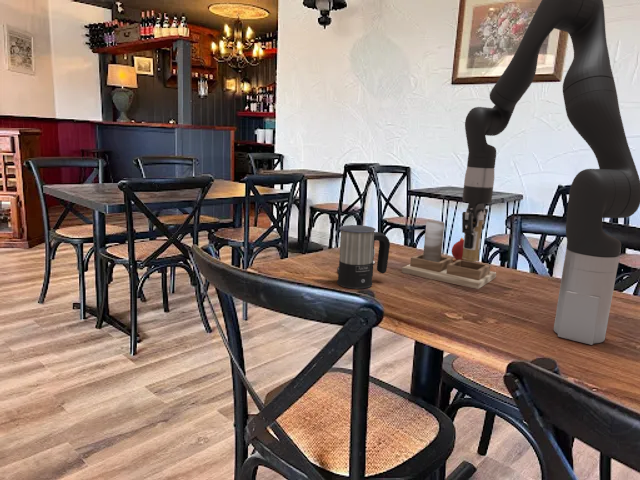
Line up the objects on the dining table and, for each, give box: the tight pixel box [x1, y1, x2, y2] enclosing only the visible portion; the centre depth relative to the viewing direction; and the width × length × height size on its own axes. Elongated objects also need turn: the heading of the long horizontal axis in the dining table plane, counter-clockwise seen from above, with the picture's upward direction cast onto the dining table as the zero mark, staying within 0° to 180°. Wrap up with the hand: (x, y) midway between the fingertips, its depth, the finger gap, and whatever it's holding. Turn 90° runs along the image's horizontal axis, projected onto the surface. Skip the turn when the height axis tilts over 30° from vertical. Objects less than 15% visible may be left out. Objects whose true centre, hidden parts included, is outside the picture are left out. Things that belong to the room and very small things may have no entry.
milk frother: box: [336, 224, 391, 290], centre depth 128 cm, size 14×16×15 cm
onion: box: [451, 237, 464, 261], centre depth 153 cm, size 6×6×8 cm
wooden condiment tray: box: [401, 220, 497, 290], centre depth 137 cm, size 15×22×14 cm
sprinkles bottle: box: [462, 213, 484, 263], centre depth 133 cm, size 5×5×13 cm
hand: (471, 246), depth 134 cm, fingers closed on sprinkles bottle, 4 cm apart
